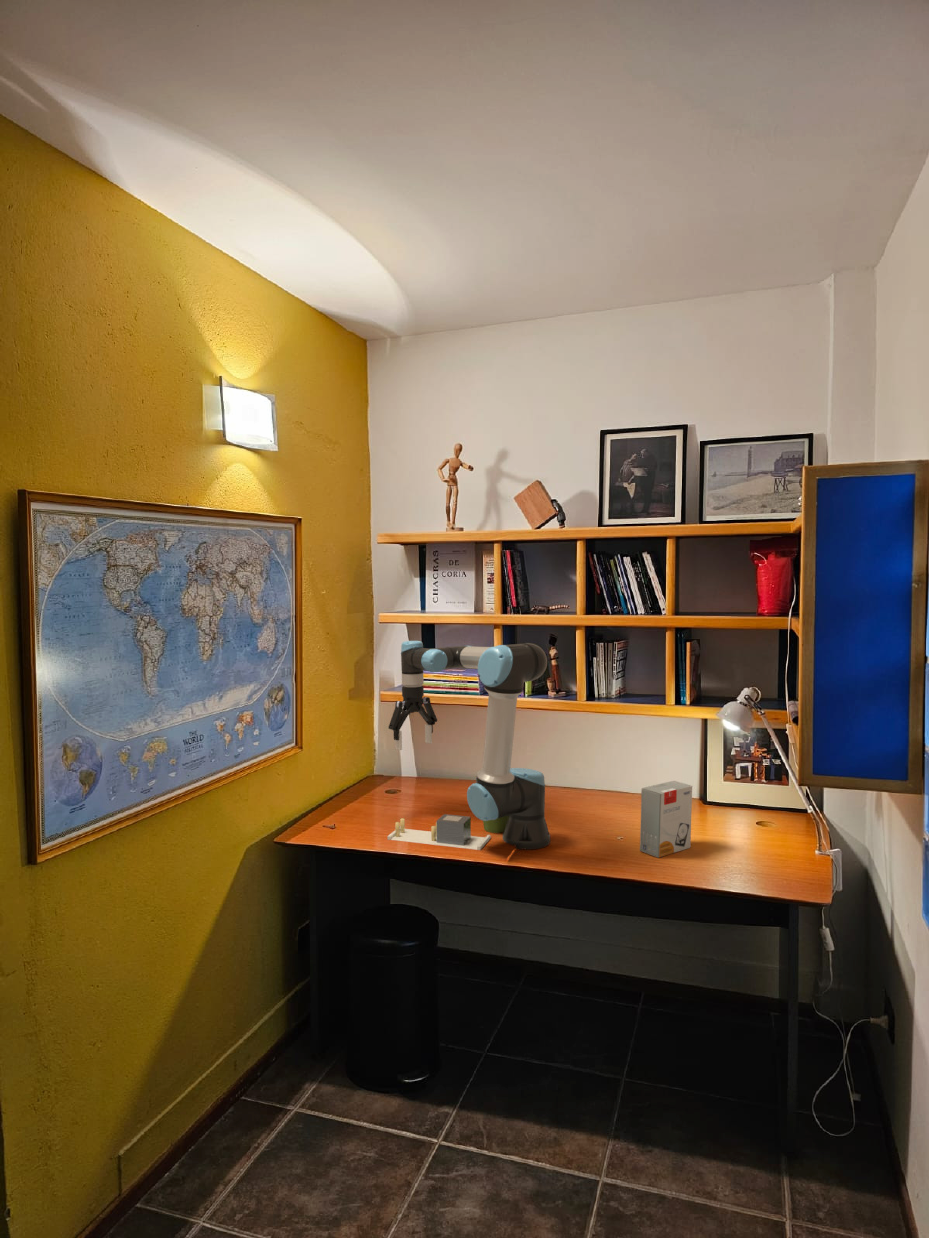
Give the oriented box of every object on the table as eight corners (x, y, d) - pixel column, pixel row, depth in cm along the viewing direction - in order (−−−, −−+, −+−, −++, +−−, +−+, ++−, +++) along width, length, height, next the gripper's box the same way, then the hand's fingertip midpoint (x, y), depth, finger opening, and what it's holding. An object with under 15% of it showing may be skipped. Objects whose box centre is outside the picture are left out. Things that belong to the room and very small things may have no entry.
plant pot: (470, 831, 265) (470, 798, 264) (496, 823, 272) (496, 791, 271) (494, 840, 256) (494, 806, 255) (520, 832, 263) (520, 799, 262)
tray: (490, 841, 255) (490, 824, 255) (480, 853, 245) (480, 835, 244) (401, 831, 265) (400, 814, 265) (387, 842, 255) (387, 825, 254)
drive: (470, 838, 255) (470, 816, 255) (463, 845, 249) (463, 823, 248) (444, 835, 258) (444, 813, 258) (436, 842, 251) (436, 820, 251)
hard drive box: (658, 858, 239) (659, 793, 238) (639, 851, 246) (639, 787, 244) (691, 847, 248) (692, 784, 247) (672, 840, 255) (672, 779, 253)
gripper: (432, 680, 288) (433, 738, 289) (377, 688, 271) (378, 750, 272) (446, 682, 283) (447, 741, 284) (391, 690, 265) (392, 753, 267)
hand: (413, 746), depth 278 cm, fingers open, 13 cm apart
